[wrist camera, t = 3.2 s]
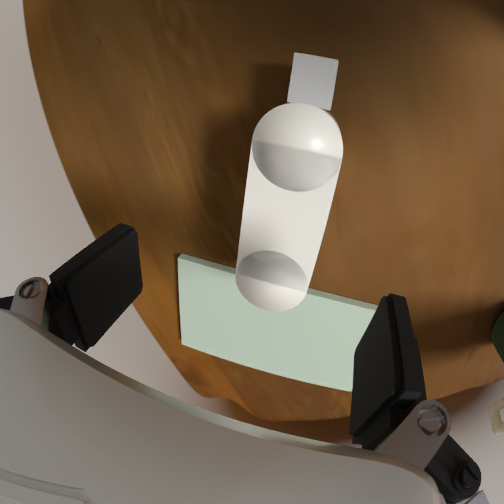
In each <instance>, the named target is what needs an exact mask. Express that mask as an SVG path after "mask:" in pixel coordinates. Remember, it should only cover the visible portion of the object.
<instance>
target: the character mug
mask: <svg viewBox="0 0 504 504" xmlns="http://www.w3.org/2000/svg"><path fill="white" fill-rule="evenodd" d="M491 340H492V342H493V344H494V346H495V348H496V350H497V352H498V354H499V355H500V357H501V359H502V361H503V362H504V311H503V313H502V314H501V315H500V316H499V318H498V319H497V321H496V323H495V325H494V328H493V330H492V337H491ZM502 408H504V398H503V399H500V400H499V401H497V402H495V403H493V404H492V405H491V406H490V408H489V414H490V419H491V425H492V431H493V433H494V434H495V435H496V434H501V433H503V432H504V422H501V417H500V413H499V410H500V409H502Z"/></svg>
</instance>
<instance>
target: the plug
mask: <svg viewBox="0 0 504 504" xmlns="http://www.w3.org/2000/svg"><path fill="white" fill-rule="evenodd" d="M338 63H339V60H335V59H330V58H325V57H320V56H314V55H308V54H302V53H295V52H294V59H293V65H292V72H291V79H290V85H289V92H288V98H287V102H290V103H289V104H284V105H280V106H278V107H276V108H274V109H272V110H270V111H269V112H268V113H266V114H265V115H264V116H263V117H262V118H261V120H260V121H259V122H258V124H257V126H256V128H255V130H254V133H253V137H252V144H251V151H250V159H249V167H248V175H247V182H246V190H245V198H244V207H243V215H242V223H241V231H240V240H239V248H238V257H237V265H236V275H235V278H236V284H237V287H238V289H239V291H240V292H241V294H242V295H243V296H244V298H245V299H246V300H248V301H249V302H250V303H251V304H253V305H255V306H256V307H259V308H261V309H264V310H268V311H286V310H289V309H292V308H294V307H295V306H297V305H298V304H299V303H301V301H302V300H303V299H304V297H305V295H306V293H307V289H308V286H309V283H310V280H311V276H312V273H313V269H314V266H315V263H316V259H317V256H318V252H319V249H320V245H321V241H322V238H323V234H324V230H325V227H326V223H327V219H328V215H329V211H330V207H331V203H332V199H333V195H334V191H335V187H336V183H337V179H338V174H339V170H340V166H341V161H342V156H343V143H342V137H341V133H340V129H339V126H338V123H337V121H336V120H335V118H334V117H333V116H332V115H331V114H330V113H329V112H328V111H327V110H331V105H332V99H333V94H334V88H335V82H336V76H337V69H338ZM325 109H326V110H325Z"/></svg>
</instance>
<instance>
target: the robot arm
mask: <svg viewBox="0 0 504 504" xmlns="http://www.w3.org/2000/svg"><path fill="white" fill-rule="evenodd" d="M49 277H50V280H51V283H50V284H49V285H48V283H47V282H46V280H45V279H44V278H41V277H33V278H30V279H27V280H25V281H24V282H22V283H21V284H20V285H19V286H18V287H17V289H16V292H15V295H14V296H9V297H4V298H0V504H489V502H488V500H487V498H486V495H485V493H484V491H483V490H482V491H479V486H480V483H481V472H480V469H479V467H478V465H477V464H476V463H475V462H474V461H473V459H472V458H471V457H469V455H468V454H467V453H466V452H465V451H464V450H463V449H462V448H461V447H460V446H459V445H458V444H457V443H456V442H455V441H454V440H453V439H452V437H451V436H450V435H449V434H448V433H449V431H450V429H451V419H450V415H449V413H448V411H447V410H446V409H445V407H444V406H443V405H442V404H440V403H439V402H437V401H434V400H427V399H426V390H425V383H424V376H423V370H422V364H421V358H420V352H419V347H418V342H417V339H416V338H415V337H414V333H413V328H412V324H411V319H410V315H409V310H408V306H407V302H406V298H405V297H403V296H399V295H395V294H389V295H388V296H387V297H386V296H383V298H382V299H381V301H380V303H379V305H378V307H377V309H376V311H375V313H374V315H373V317H372V319H371V321H370V323H369V325H368V327H367V329H366V331H365V332H364V334H363V336H362V338H361V340H360V342H359V343H358V345H357V347H356V349H355V353H354V368H353V388H352V403H351V415H350V426H349V434H350V435H353V440H352V443H353V444H360V445H362V449H361V448H354V447H350V446H345V445H338V444H332V443H326V442H321V441H316V440H312V439H307V438H302V437H298V436H293V435H289V434H285V433H281V432H277V431H272V430H268V429H265V428H261V427H258V426H254V425H250V424H247V423H244V422H240V421H237V420H234V419H231V418H228V417H225V416H222V415H219V414H216V413H213V412H210V411H207V410H204V409H202V408H199V407H196V406H194V405H191V404H188V403H186V402H183V401H181V400H178V399H176V398H174V397H171V396H169V395H166V394H164V393H162V392H160V391H157V390H155V389H153V388H151V387H148V386H146V385H144V384H142V383H140V382H138V381H136V380H134V379H131V378H129V377H127V376H125V375H123V374H121V373H120V372H118V371H116V370H114V369H111V368H110V367H108V366H106V365H104V364H102V363H101V362H99V361H97V360H95V359H93V358H92V357H90V356H88V355H86V354H85V353H83V352H81V351H80V350H78V349H76V348H75V347H73V346H72V345H73V344H74V343H75V345H76V347H78V348H79V349H81V350H83V351H84V352H86V351H87V350H88V349H89V347H92V346H94V345H95V344H96V343H97V342H98V341H99V339H100V338H101V337H102V336H103V335H104V333H105V332H106V331H107V330H108V329H109V328H110V327H111V326H112V324H113V323H114V322H115V321H116V320H117V319H118V318H119V316H120V315H121V314H122V313H123V312H124V311H125V310H126V309H127V308H128V306H129V305H130V304H131V303H132V302H133V301H134V300H135V299H136V298H137V297H138V295H139V294H140V293H141V291H142V287H143V284H142V276H141V267H140V257H139V247H138V235H137V232H136V231H135V229H134V227H132V226H129V225H125V224H121V223H120V224H118V225H116V226H115V227H114V228H112V229H111V230H109V231H108V232H106V233H105V234H104V235H102V236H101V237H99V238H98V239H97V240H95V241H94V242H92V243H91V244H90V245H88V246H87V247H86V248H84V249H83V250H81V251H80V252H79V253H78V254H76V255H75V256H74V257H72V258H71V259H70V260H68V261H67V262H66V263H64V264H63V265H62V266H61V267H59V268H58V269H57V270H56V271H54V272H53V273H52V274H51V275H50V276H49Z"/></svg>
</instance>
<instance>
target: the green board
mask: <svg viewBox="0 0 504 504" xmlns="http://www.w3.org/2000/svg"><path fill="white" fill-rule="evenodd" d="M235 275H236V268H232V267H229V266H225V265H222V264H218V263H214V262H211V261H207V260H204V259H200V258H197V257H193V256H189V255H186V254H181V255H180V256H179V257H178V283H179V306H180V323H181V338H182V344H183V345H186V346H188V347H191V348H194V349H196V350H199V351H202V352H205V353H208V354H211V355H214V356H217V357H220V358H223V359H226V360H229V361H232V362H235V363H238V364H242V365H245V366H248V367H251V368H255V369H258V370H262V371H265V372H269V373H273V374H276V375H280V376H284V377H288V378H291V379H295V380H300V381H304V382H308V383H312V384H317V385H321V386H326V387H330V388H335V389H340V390H345V391H352V388H353V368H354V353H355V349H356V347H357V345H358V343H359V342H360V340H361V338H362V336H363V334H364V332H365V331H366V329H367V327H368V325H369V323H370V321H371V319H372V317H373V315H374V313H375V311H376V309H377V307H378V305H374V304H370V303H366V302H362V301H358V300H354V299H350V298H346V297H342V296H338V295H334V294H331V293H327V292H323V291H319V290H315V289H311V288H308V289H307V293H306V295H305V297H304V299H303V300H302V301H301V303H299V304H298V305H297V306H295V307H294V308H292V309H289V310H286V311H268V310H264V309H261V308H259V307H256V306H255V305H253V304H251V303H250V302H249V301H248V300H246V299H245V298H244V296H243V295H242V294H241V292H240V291H239V289H238V287H237V284H236V278H235Z"/></svg>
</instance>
